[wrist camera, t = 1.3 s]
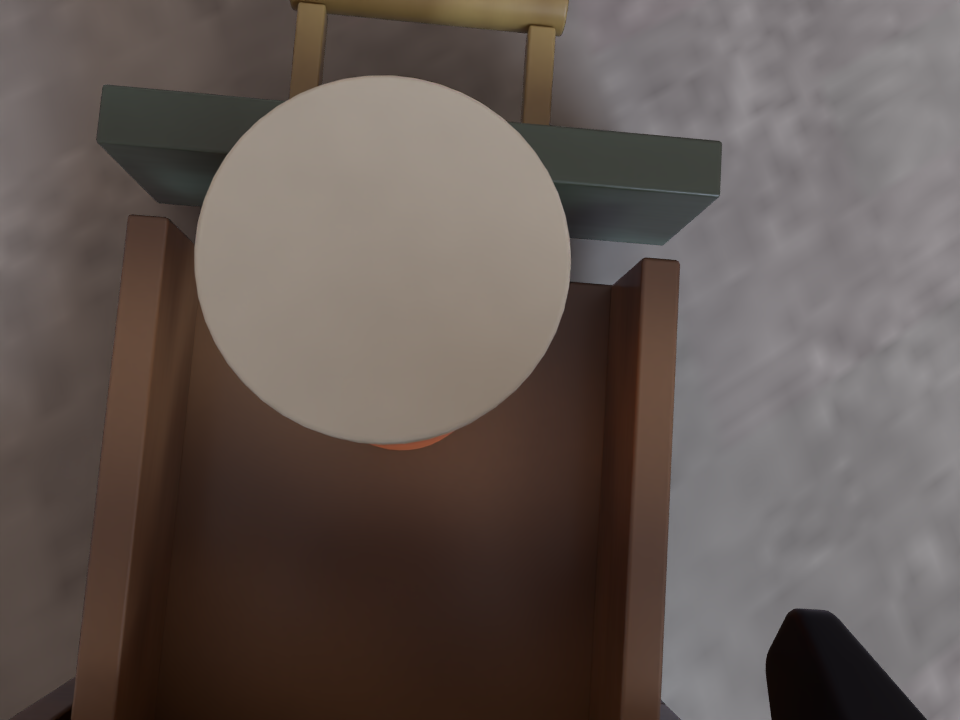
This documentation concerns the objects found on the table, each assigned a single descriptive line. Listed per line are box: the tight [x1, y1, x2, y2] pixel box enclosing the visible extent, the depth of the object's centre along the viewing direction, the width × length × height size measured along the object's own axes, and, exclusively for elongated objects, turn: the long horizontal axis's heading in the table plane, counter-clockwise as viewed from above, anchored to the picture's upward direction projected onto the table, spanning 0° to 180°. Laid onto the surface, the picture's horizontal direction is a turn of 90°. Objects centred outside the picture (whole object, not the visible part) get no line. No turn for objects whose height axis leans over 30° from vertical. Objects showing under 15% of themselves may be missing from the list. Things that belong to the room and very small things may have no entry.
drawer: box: [71, 0, 722, 720], centre depth 20 cm, size 19×12×4 cm, turn 176°
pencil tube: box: [194, 75, 571, 451], centre depth 15 cm, size 4×4×12 cm
